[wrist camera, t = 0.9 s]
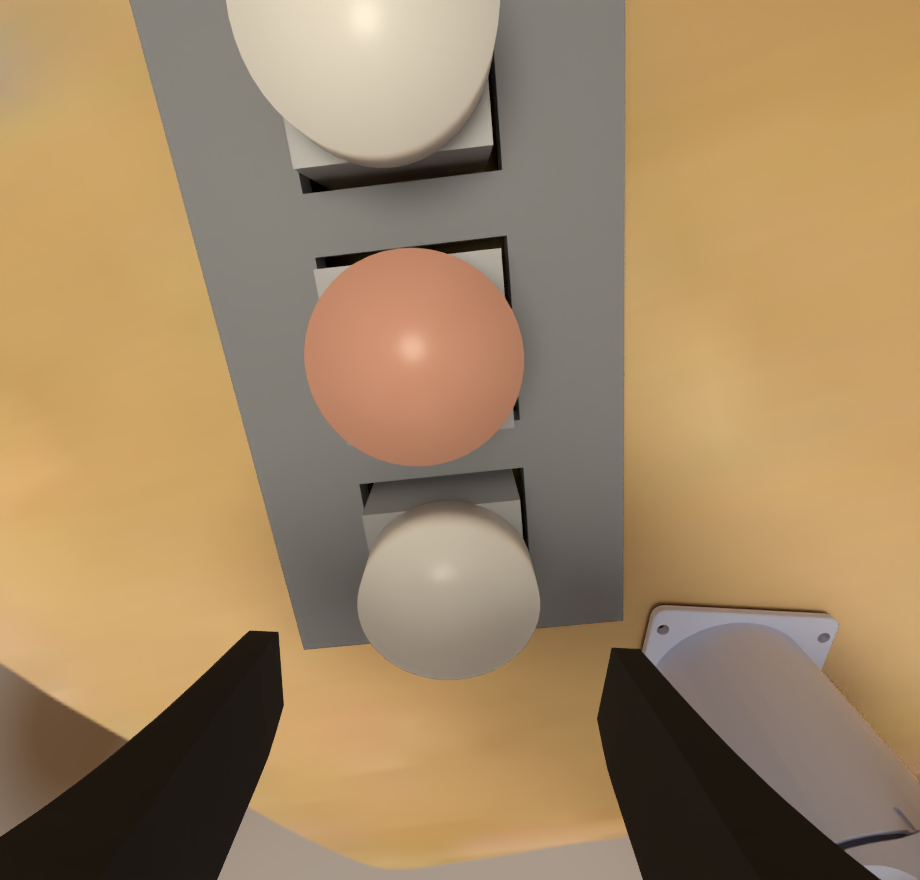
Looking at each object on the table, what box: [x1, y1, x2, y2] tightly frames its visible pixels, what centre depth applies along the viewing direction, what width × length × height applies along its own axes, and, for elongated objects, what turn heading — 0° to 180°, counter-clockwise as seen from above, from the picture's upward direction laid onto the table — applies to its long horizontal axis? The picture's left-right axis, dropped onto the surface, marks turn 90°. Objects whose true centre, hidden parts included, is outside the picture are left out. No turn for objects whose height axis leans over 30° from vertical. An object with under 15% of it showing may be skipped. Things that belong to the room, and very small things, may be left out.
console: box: [129, 0, 625, 650], centre depth 16 cm, size 20×11×4 cm, turn 6°
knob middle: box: [304, 248, 524, 466], centre depth 13 cm, size 5×5×5 cm
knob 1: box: [226, 0, 500, 190], centre depth 11 cm, size 5×5×5 cm
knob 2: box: [357, 469, 540, 680], centre depth 16 cm, size 5×5×5 cm
